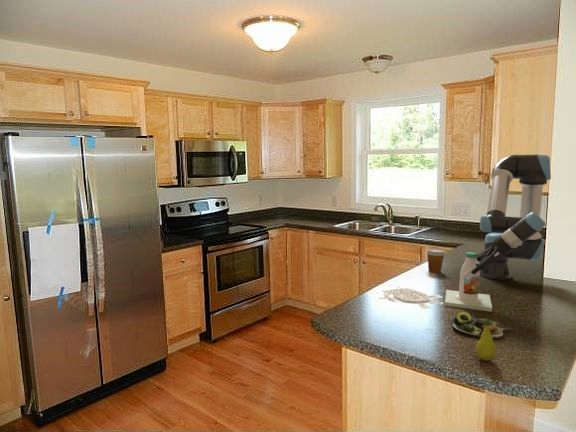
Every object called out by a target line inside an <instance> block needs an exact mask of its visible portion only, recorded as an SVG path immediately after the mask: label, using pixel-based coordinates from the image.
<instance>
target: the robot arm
mask: <svg viewBox="0 0 576 432" xmlns="http://www.w3.org/2000/svg"><path fill="white" fill-rule="evenodd" d="M551 171H552V170H551V158H550V156H549V155H546V154H511V155H507V156H504V157H503V158H502V159H501V160H499V161H497V163H496V164H495V165H494V167H493V168H492V170H491V174H490V180H491V181H492V182H491V188H490V192H489V193H490V194H489V199H488V203H487V205H488V206H487V212H486V214H482V215H481V216H480V220H479V230H480V231H482V232H484V233H488V234H486V235H485V237H484V238H485V239H484V250H483V251H481V252H480V253H479V254H478V253H477V259H476V262H477V264H475V265H476V266H474V267H473V268H472V269H470V270H469V271H468V272H466V273H465V274H464V275H463V276H464V277H465V278H466V279H467V280H469V279H470V278H472V277H473V276H474V275H476V274H477V273H478V272H479V273H480V276H481V277H483V278H487V279H491V280H502V281H503V280H505V281H506V280H509V279H511V277H512V276H511V275H512V272H511V269H510V266H509V259H513V260H521V261H527V262H528V261H529V262H538V261H539V260H541V258H542V254H543V252H544V247H545V238H543V237H542V234H541V233H540V231H541V230H543V228H544V227H546V225H547V223H546V222H545V220H544V219H542V218H541V208H542V200H543V199H542V197H543V189H544V186H545V185H547V183H548V181H550V180H551V179H552V175H551V173H552V172H551ZM513 179H516V180H518V183H519V184H520V185H521V186H522V188H521V199H520V211H519V213H520V214H519V216H506V214H507V213H506V212H507V208H508V207H507V206H508V199H509V192H510V185H511V184H510V183H511V182H512V181H513Z"/></svg>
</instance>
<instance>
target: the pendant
mask: <svg viewBox="0 0 576 432" xmlns="http://www.w3.org/2000/svg"><path fill="white" fill-rule="evenodd" d="M399 288H400V289H399ZM383 292H384V293H383V296H384V297H379V300H380V299H387V301H390V302H394V301H397V300H398V301H400V300H402V301H403V303H409V302H410V304H418V306H419V307H420V308H421V309H431V308H432V307H431V306H429V305H428V304H426V303H427V302H428V303H429V304H432V303H433V304H435V303H436V305H439V304H440V305H443V304H444V302H442V301H439V302H438V301H437V300H436V299H444V297H443V296H441V294H440V295H439V294H433V295H428V294H427V293H424V292H423V291H419V290H416V289H412V288H402V287H400V286H397V288H394V289H388V290H383ZM390 294H393V296H392V297H391V296H389V295H390ZM430 298H432V299H430ZM402 301H401V302H402ZM423 302H424V303H423Z"/></svg>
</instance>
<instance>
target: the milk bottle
mask: <svg viewBox="0 0 576 432" xmlns="http://www.w3.org/2000/svg"><path fill="white" fill-rule="evenodd" d="M477 255H478V253H476V252H473V251H467V252H465V255H464V258H465V260H464V263H463V265H462V266H461V267H460V268H461V269H460V274H459V286H458V288H459V289H458V291H459V297H460V298H462V299H465V300H477V299H478V294H479V289H480V276H481V275H480V273H479V272H478V273H477V274H476V275H474V276H473V277H472V278H470V279H469V280H467V279H466V278H465V277H464V276H463V275H464V274H465V273H466V272H468V271H469V270H470V269H472V268H473V267H474V266H476V265H475V264H477V262H476V259H477Z"/></svg>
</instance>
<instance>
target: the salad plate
mask: <svg viewBox="0 0 576 432" xmlns="http://www.w3.org/2000/svg"><path fill="white" fill-rule="evenodd" d="M483 320H484V322H485V324H486V327H487V328H488V329H489V330H490V332H491V335H492V338H493V339H499V338H501V337H503V336H504V332H503V331H510V330H512V329H511V327H508V326H505V325H502V324H500V323H498V322H496V321H493V320H492V319H487V318H485V317H484V318H477V317H473V316H472V315H471V313H469V312H467V311H466V310H465V311H464V310H460V311H458V312H457V313H456V314H455V316H454V317H453V319H452V322H451V323H452V329H453V330H454V331H455V332H456V333H458V334H460V335H464V336H466V337H473V338H480V339H481V335H482V333H483V330H484V327H485V324H484V323H483Z"/></svg>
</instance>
